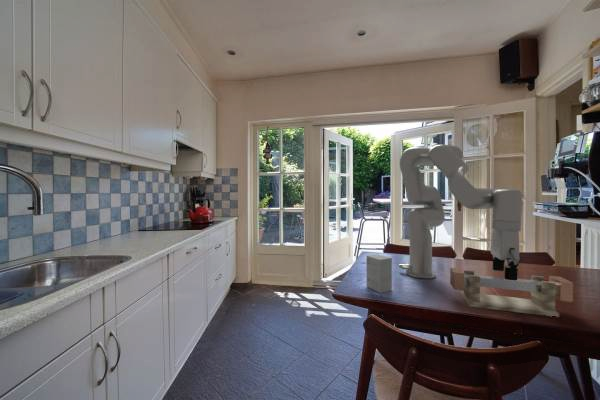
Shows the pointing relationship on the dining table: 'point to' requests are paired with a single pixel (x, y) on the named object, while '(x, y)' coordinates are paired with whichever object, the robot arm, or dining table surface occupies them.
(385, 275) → the small box
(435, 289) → the dining table surface
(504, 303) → the hanger stand
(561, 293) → the steel bar
